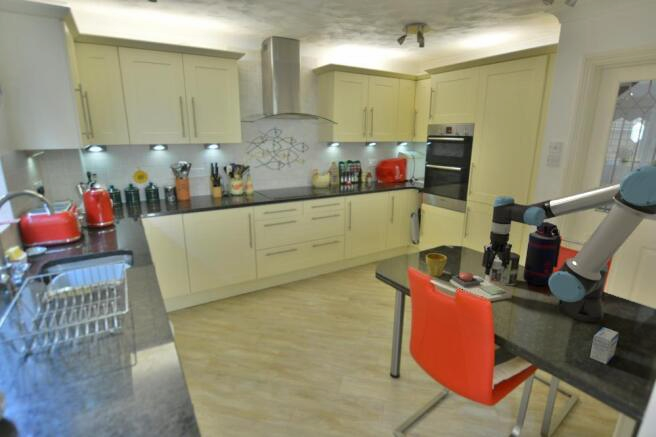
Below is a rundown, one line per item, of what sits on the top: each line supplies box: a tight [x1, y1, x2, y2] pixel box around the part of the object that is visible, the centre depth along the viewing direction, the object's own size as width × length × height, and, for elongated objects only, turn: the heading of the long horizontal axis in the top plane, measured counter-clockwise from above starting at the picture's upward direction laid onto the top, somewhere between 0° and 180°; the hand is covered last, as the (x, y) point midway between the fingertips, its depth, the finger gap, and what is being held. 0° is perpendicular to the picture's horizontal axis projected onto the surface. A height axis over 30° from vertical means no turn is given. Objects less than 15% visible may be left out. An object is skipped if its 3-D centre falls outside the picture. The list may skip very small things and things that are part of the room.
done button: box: [459, 271, 474, 282], centre depth 163 cm, size 6×6×2 cm
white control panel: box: [449, 274, 513, 302], centre depth 159 cm, size 22×16×4 cm
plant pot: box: [425, 253, 448, 278], centre depth 176 cm, size 10×10×10 cm
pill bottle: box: [490, 258, 502, 284], centre depth 154 cm, size 6×6×10 cm
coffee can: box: [495, 251, 521, 286], centre depth 167 cm, size 10×10×14 cm
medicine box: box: [590, 327, 620, 365], centre depth 111 cm, size 8×4×9 cm, turn 126°
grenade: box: [522, 221, 562, 287], centre depth 164 cm, size 14×12×30 cm
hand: (493, 280), depth 155 cm, fingers closed on pill bottle, 6 cm apart
